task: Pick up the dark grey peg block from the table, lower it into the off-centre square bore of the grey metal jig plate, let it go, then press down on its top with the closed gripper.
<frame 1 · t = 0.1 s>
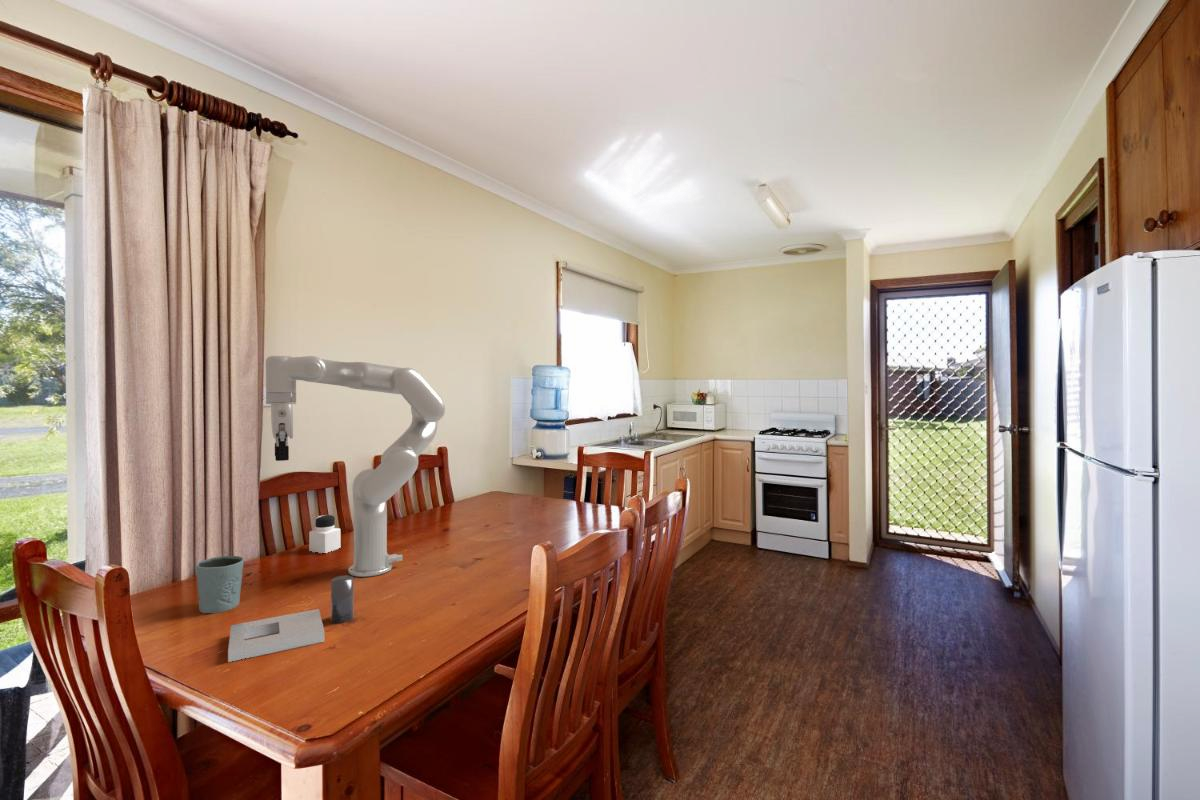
hand: (281, 458, 157), 37 cm above the table, tool pointing down, fingers open, 9 cm apart
jig: (277, 638, 124), on the table
dark grey peg block: (342, 618, 135), on the table
medicine bottle: (325, 550, 190), on the table
teal embossed planter pot: (220, 607, 142), on the table
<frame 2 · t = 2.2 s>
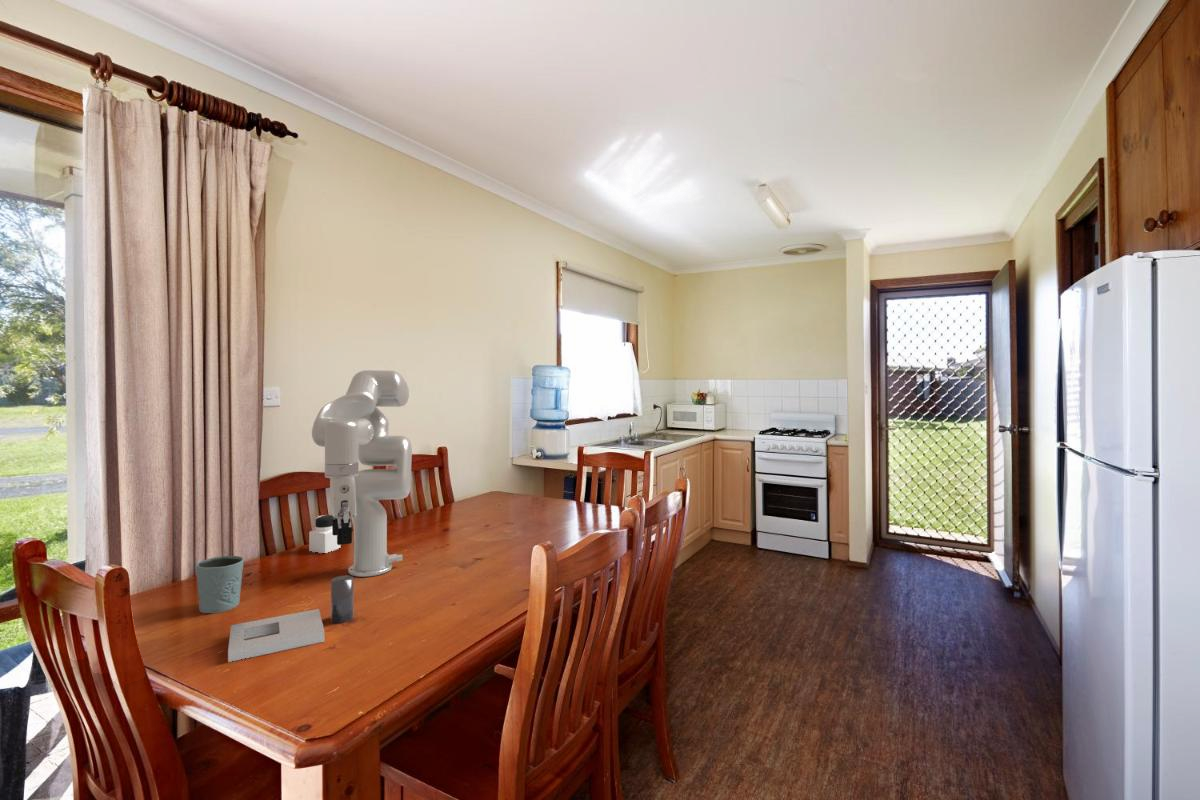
hand: (341, 539, 134), 20 cm above the table, tool pointing down, fingers open, 9 cm apart
nothing on the table moved.
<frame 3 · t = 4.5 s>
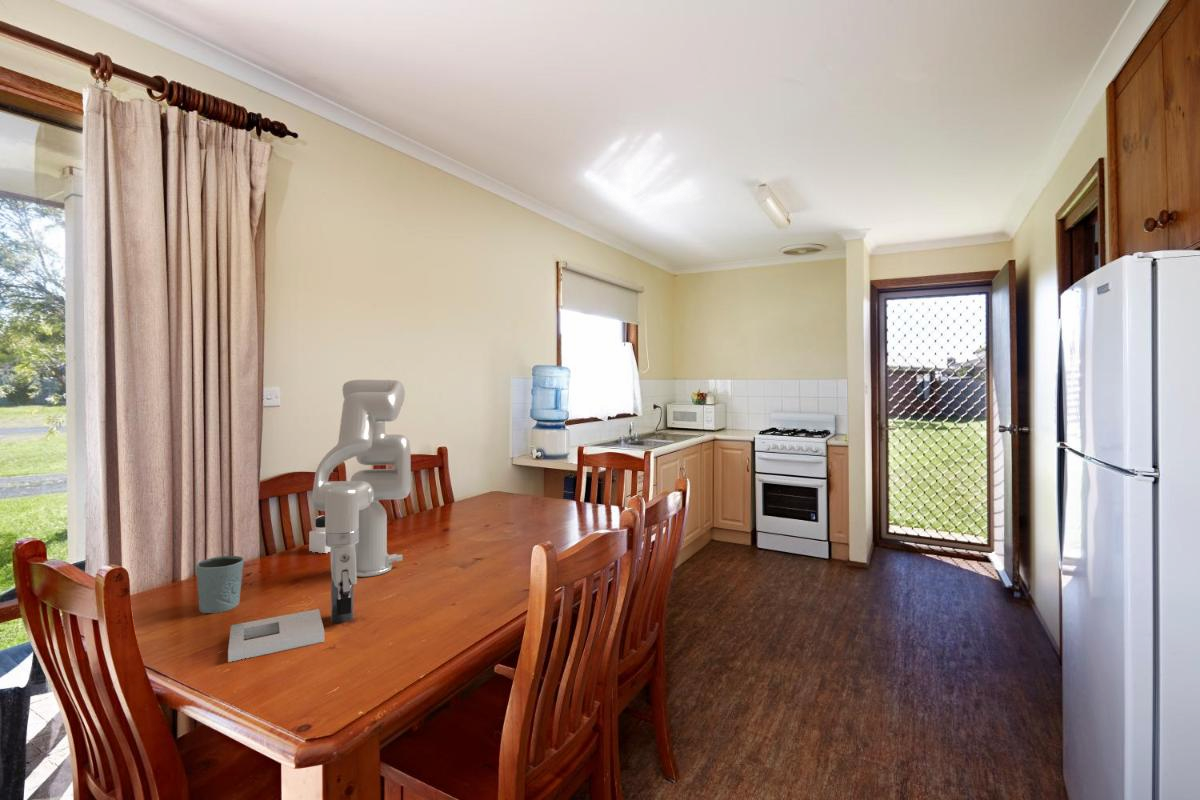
hand: (342, 609, 135), 2 cm above the table, tool pointing down, fingers closed on dark grey peg block, 5 cm apart
dark grey peg block: (342, 618, 135), on the table, touching gripper
everything else where it was.
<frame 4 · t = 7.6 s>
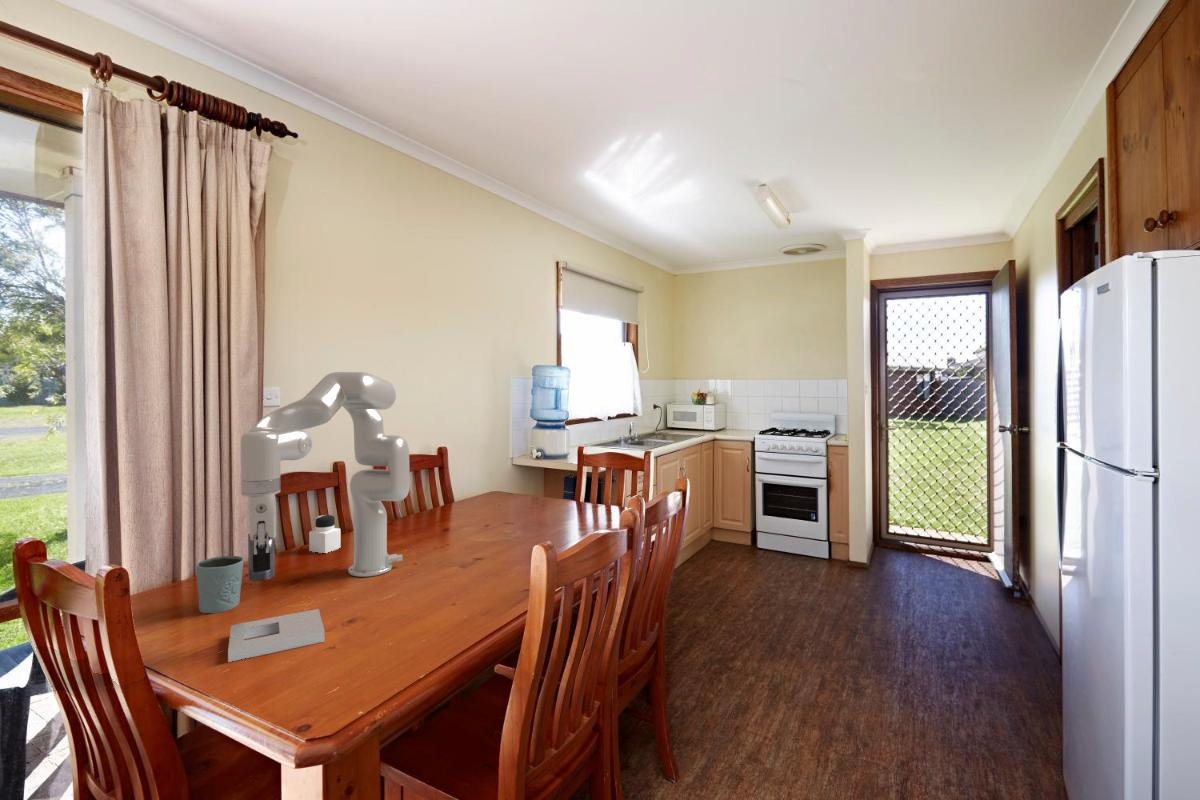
hand: (261, 566, 122), 17 cm above the table, tool pointing down, fingers closed on dark grey peg block, 5 cm apart
dark grey peg block: (261, 577, 122), point 15 cm above the table, touching gripper
everything else where it was.
when the fingers open (4 cm above the table, at t = 10.8 s): dark grey peg block drops 1 cm, resting in jig.
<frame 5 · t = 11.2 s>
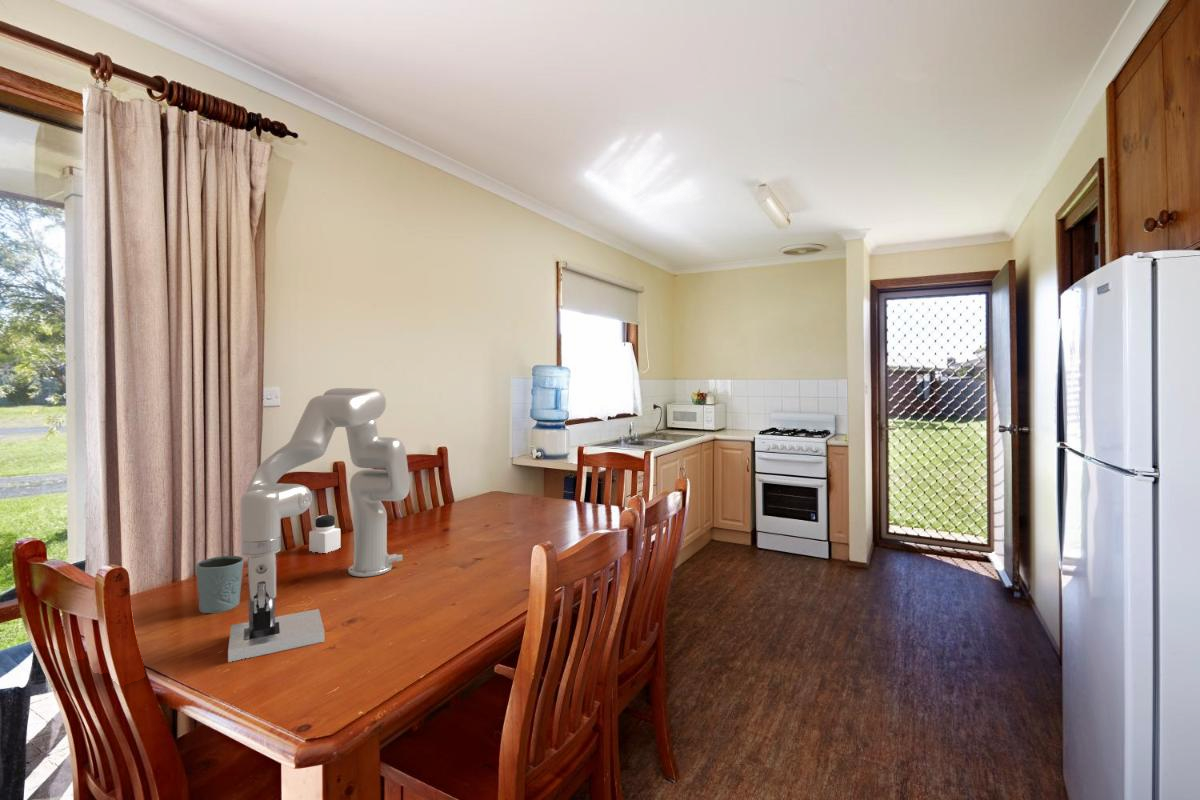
hand: (261, 621, 123), 5 cm above the table, tool pointing down, fingers open, 9 cm apart
dark grey peg block: (262, 641, 123), resting in jig
everything else where it was.
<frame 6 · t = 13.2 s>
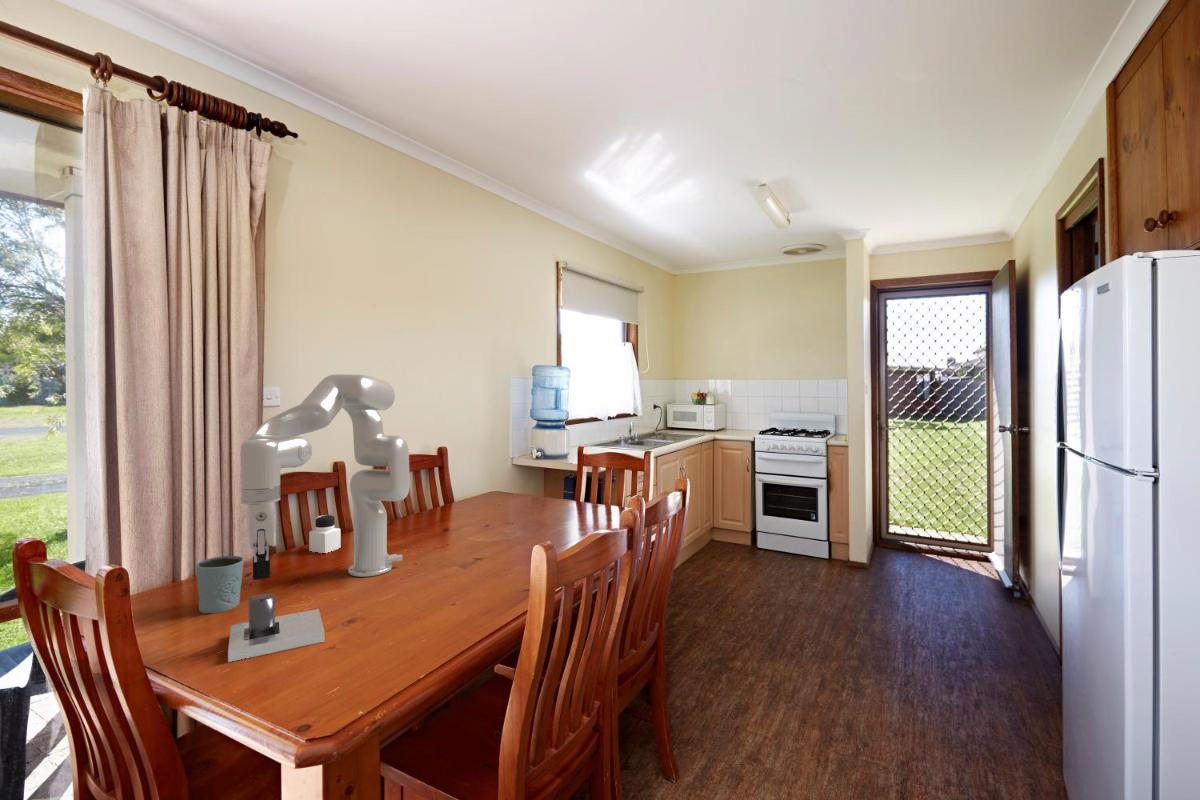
hand: (261, 575, 122), 15 cm above the table, tool pointing down, fingers open, 3 cm apart
nothing on the table moved.
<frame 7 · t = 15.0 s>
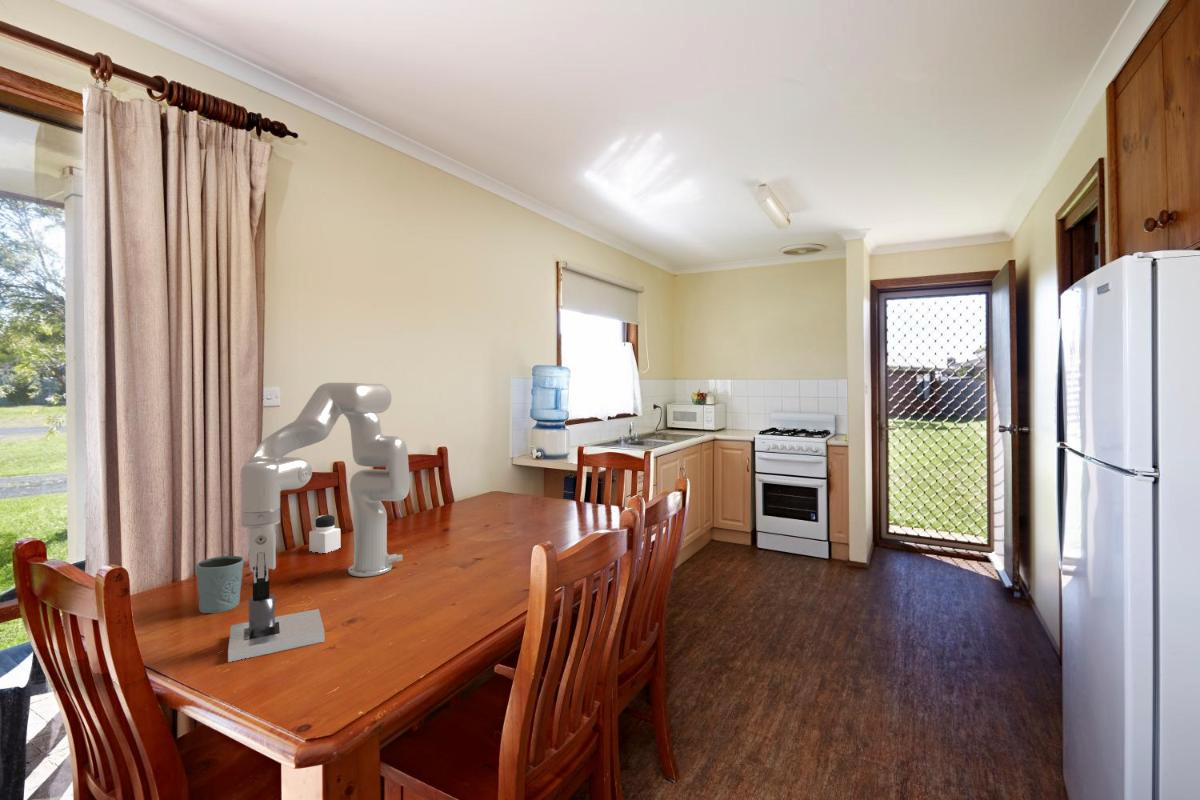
hand: (261, 598, 122), 10 cm above the table, tool pointing down, fingers closed
dark grey peg block: (262, 641, 123), resting in jig, touching gripper
everything else where it was.
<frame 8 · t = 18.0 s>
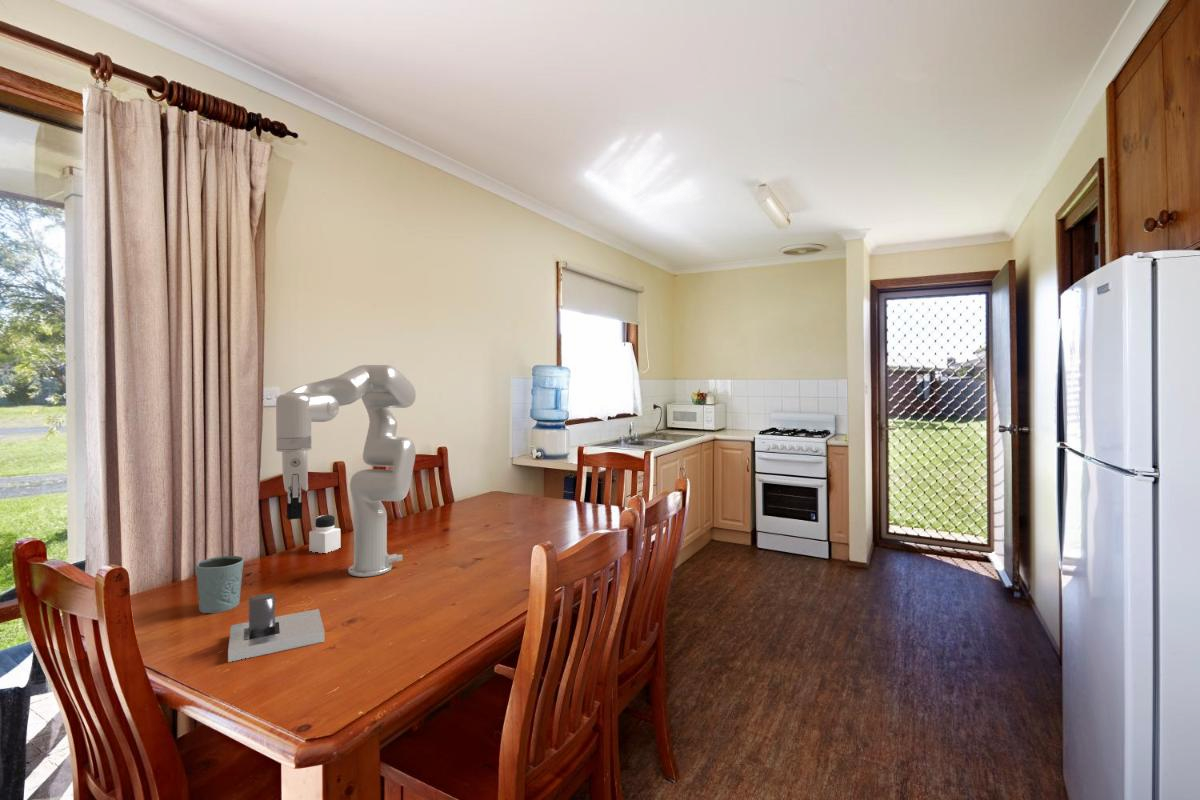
hand: (294, 518, 134), 25 cm above the table, tool pointing down, fingers closed
dark grey peg block: (262, 641, 123), resting in jig
everything else where it was.
at the end: dark grey peg block 0.1 cm from the target spot on the jig, point 0.0 cm above the jig's base; dark grey peg block tilted 0°; the gripper is holding nothing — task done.
